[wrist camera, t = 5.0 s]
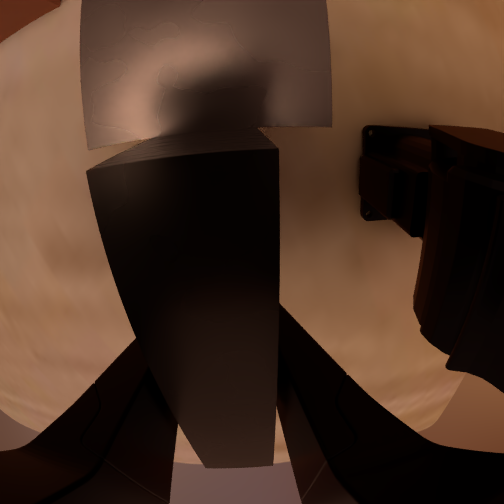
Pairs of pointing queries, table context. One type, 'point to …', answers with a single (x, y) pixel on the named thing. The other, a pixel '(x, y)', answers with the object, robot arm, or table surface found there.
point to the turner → (202, 193)
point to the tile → (22, 14)
